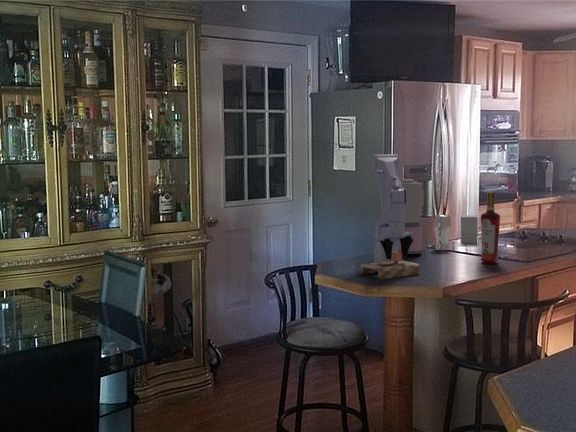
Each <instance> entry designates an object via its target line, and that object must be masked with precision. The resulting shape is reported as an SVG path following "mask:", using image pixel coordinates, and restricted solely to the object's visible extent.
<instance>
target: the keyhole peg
mask: <svg viewBox="0 0 576 432" xmlns="http://www.w3.org/2000/svg"><path fill="white" fill-rule="evenodd" d="M402 260H403V257H402V252H397V251H396V252H392V257H391V260H390V261H394V265H395V264H398V261H402Z"/></svg>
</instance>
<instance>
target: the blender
mask: <svg viewBox="0 0 576 432" xmlns="http://www.w3.org/2000/svg"><path fill="white" fill-rule="evenodd" d="M401 185H402V188H404V189H405V190H406V194H407V200H406V204H404V205H405V225H404V232H414V237H412V238H413V242H412V243H411V245H410V248H409V250H408V254H407V255H415V254H416V255H417V254H420V256H422V255H423V229H422V227H421V224H420V218H421V213H422V212H421V211H422V209H424V208H425V194H426V193H425V188H424V186H422V183H421V182H419V181H418V182H417V181H415V179H414V178H413V179H411V178H405V179H403V178H402V180H401ZM398 252H401V243H400V242H399V243H398Z"/></svg>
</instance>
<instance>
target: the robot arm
mask: <svg viewBox="0 0 576 432" xmlns="http://www.w3.org/2000/svg"><path fill="white" fill-rule="evenodd" d="M371 159H372V160H371V163H372V164H371V165H372V174H373V177H374V178H376V179H377V181H378V184H379V185H378V186H379V187H378V189H379V198H380V201H379V202H380V210H381V211H380V212H381V218H380V219H379V220H378V221H377V222H376V223H375V226H374V227H375V229H374V230H375V231H374V235H375V236H374V238H375V241H376V242H377V243H376V244H374V248H373V263H376V262H384V261H390V260H391V257H392V252H396V251H397V252H398V243H399V242H400V243H401V252H402V258H405V259H406V258H408V255H409V254H408V250H409V248H410V245H411V243H412V242H413V238H412V237H414V232H404V225H405V205H404V204H406V200H407V194H406V190H405V189H404V188H402V185H401V182H402V180H401V178H400V177H399V176H397V174H398V170H399V166H400V157H399V155H398V153H392V154H389V153H388V154H384V153H383V154H376V153H375V154H374V155H372V158H371Z"/></svg>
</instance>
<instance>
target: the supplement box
mask: <svg viewBox="0 0 576 432" xmlns="http://www.w3.org/2000/svg"><path fill="white" fill-rule="evenodd" d="M478 219H479V217H478V216H477V215H475V214H472V215H471V214H470V215H467V214H465V215H463V214H462V215H460V242H461V244H478V226H479V225H478V222H479V221H478Z"/></svg>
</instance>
